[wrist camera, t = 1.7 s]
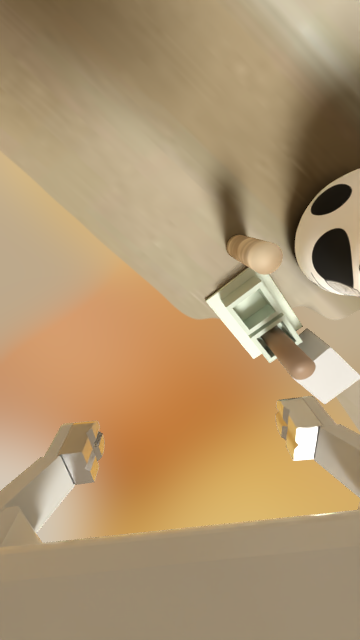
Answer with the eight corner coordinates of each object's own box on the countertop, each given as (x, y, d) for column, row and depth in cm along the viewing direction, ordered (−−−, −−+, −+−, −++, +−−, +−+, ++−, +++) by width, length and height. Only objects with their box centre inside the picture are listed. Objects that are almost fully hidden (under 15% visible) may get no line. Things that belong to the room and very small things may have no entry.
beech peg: (222, 244, 37) (245, 257, 26) (240, 229, 36) (272, 235, 25) (234, 262, 38) (261, 280, 27) (252, 247, 38) (288, 261, 27)
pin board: (205, 300, 41) (220, 333, 29) (258, 259, 38) (297, 278, 27) (252, 357, 46) (281, 403, 35) (301, 325, 44) (348, 363, 33)
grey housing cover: (275, 355, 47) (292, 377, 40) (306, 328, 44) (330, 347, 38) (304, 380, 50) (324, 404, 43) (335, 355, 47) (361, 377, 41)
